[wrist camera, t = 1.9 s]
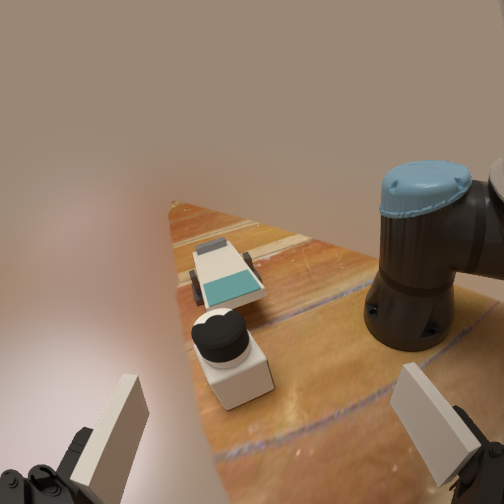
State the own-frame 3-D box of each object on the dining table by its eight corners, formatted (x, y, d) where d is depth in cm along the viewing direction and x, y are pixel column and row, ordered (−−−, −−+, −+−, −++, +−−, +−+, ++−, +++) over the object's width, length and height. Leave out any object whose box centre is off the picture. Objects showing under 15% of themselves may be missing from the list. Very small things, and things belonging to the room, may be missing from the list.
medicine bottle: (276, 388, 33) (259, 329, 27) (226, 412, 31) (193, 358, 25) (253, 354, 39) (233, 292, 33) (209, 374, 37) (178, 316, 31)
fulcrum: (193, 288, 56) (185, 267, 54) (252, 268, 58) (247, 246, 56) (197, 305, 51) (188, 284, 48) (262, 283, 53) (257, 260, 51)
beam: (194, 258, 65) (190, 246, 64) (230, 246, 67) (227, 234, 66) (209, 316, 39) (202, 299, 38) (267, 296, 41) (262, 278, 40)
